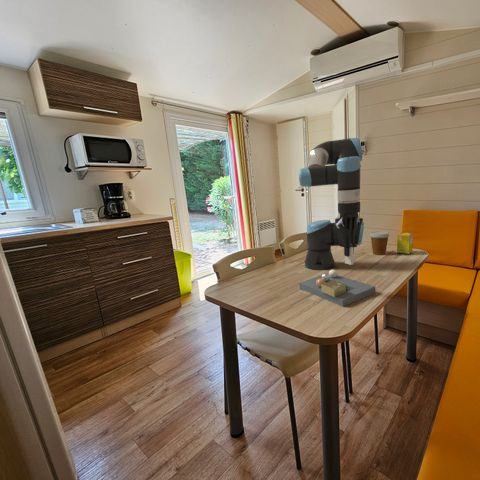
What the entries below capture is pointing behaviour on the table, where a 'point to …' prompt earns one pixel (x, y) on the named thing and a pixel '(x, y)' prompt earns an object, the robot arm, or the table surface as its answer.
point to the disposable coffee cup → (379, 242)
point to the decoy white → (332, 273)
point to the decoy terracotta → (320, 282)
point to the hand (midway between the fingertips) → (349, 263)
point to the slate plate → (353, 293)
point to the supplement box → (404, 243)
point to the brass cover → (333, 288)
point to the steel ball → (325, 277)
